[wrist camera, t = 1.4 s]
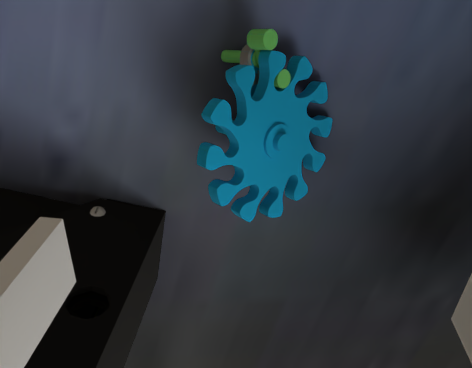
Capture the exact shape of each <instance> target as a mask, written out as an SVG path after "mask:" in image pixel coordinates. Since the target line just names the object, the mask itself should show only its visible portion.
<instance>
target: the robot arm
mask: <svg viewBox="0 0 472 368" xmlns="http://www.w3.org/2000/svg"><path fill="white" fill-rule="evenodd" d="M75 283H76V278H75V273H74V269H73V264H72V260H71V255H70V250H69V246H68V241H67V236H66V232H65V227H64V222H63V219H58V218H47V217H39V219H38V220H37V221H36V222H35V223H34V224H33V225H32V226H31V228H30V229H29V230H28V231H27V232H26V233H25V234H24V235H23V237H22V238H21V239H20V240H19V241H18V242H17V243H16V244H15V246H14V247H13V248H12V249H11V250H10V251H9V252H8V253H7V255H6V256H5V257H4V258H3V259H2V260H1V261H0V368H24V367H25V365H26V363H27V362H28V360H29V359H30V357H31V355H32V354H33V352H34V350H35V349H36V347H37V345H38V344H39V342H40V340H41V339H42V337H43V335H44V334H45V332H46V331H47V329H48V327H49V326H50V324H51V322H52V321H53V319H54V317H55V316H56V314H57V312H58V311H59V309H60V308H61V306H62V304H63V303H64V301H65V299H66V298H67V296H68V294H69V293H70V291H71V289H72V288H73V286H74V284H75ZM451 320H452V322H453V325H454V327H455V329H456V331H457V333H458V335H459V338H460V340H461V342H462V344H463V346H464V348H465V350H466V353H467V355H468V357H469V359H470V361H471V363H472V274H471V276H470V278H469V280H468V283H467V285H466V287H465V289H464V291H463V294H462V296H461V298H460V300H459V302H458V305H457V307H456V309H455V311H454V313H453V316H452V318H451Z"/></svg>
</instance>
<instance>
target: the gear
mask: <svg viewBox="0 0 472 368" xmlns="http://www.w3.org/2000/svg"><path fill="white" fill-rule="evenodd" d="M277 42H278V36H277V33H276V32H275V30H273V29H252V30H250V31H249V33H248V35H247V44H246V45H245V46H244V47H243V49H242V51H239V50H224V51H223V52H222V54H221V59H222V61H224V62H229V63H239V64H240V65H236V66H234V67H232V68H230V69H228V70H227V71H226V80H227V82H228V84H229V85H230V86H231V88H232V89H233V91H234V94H235V97H236V102H237V116H236V119H235V120H232V118H231V107H230V104H229V103H228V102H227V101H225V100H222V99H217V98H213V99H211V100H210V101H209V103H208V104H207V105H206V107H205V108H204V110H203V112H202V114H201V115H202V118H203V119H204V120H205V121H206V122H208V123H211V124H214V125H215V127H216V130H217V131H218V132H219V133H223V134H226V135H227V137H228V139H229V142H230V146H229V149H228V150H227V152H226V153H224V152H223V150H222V149H221V148H220V147H219V146H216V145H213V144H211V143H208V142H204V143H201V145H200V147H199V150H198V156H197V164H198V165H199V166H201V167H204V168H206V169H208V170H215V169H217V168H219V167H221V166H224V165H233V166H234V168H235V174H234V176H233V178H232V179H231V180H230V181H223V180H219V179H215V180H213V181H212V182H210V184H209V185H208V190H209V194H210V197H211V199H212V201H213V202H214V203H216V204H218V205H220V206H225V205H227V204H229V203H230V201H231V200H232V198H233V197H234V196H235V195H236V194H237V193H238V192H239V191H240V190H242V189H243V188H245V187H247V186H250V190H249V192H248V194H247V195H246V196H244V197H242V198H239V199H237V200H236V201H235V202H234V203H233V204H232V206H231V211H232V212H233V213H234V214H235V215H237V216H238V217H240V218H242V219H244V220H246V221H248V222H251V221H252V220H253V219H254V217H255V215H256V211H257V207H258V205H259V203H260V200H261V199H262V197H263V196H264V195H265V193H266V192H267V191H268V190H269V189H270V191H269V193H268V195H267V196H266V197H265V198H264V200H263V201H262V202H261V204H260V207H259V212H260V213H262V214H264V215H266V216H268V217H271V218H275V217H280V216H281V215H282V212H283V200H282V199H283V192H284V189H285V195H286V197H288V198H290V199H292V200H295V201H297V200H299V199H301V198H302V197H304V196H305V195H306V194H307V192H308V186H307V184H306V183H305V182H304V180H303V177H302V159H303V166H304V167H305V168H306V169H308V170H311V171H314V172H318V171H319V170H320V168H321V167H322V165H323V163H324V161H325V159H326V158H325V155H324V154H323V153H320V152H317V151H316V150H314V148H313V147H312V145H311V143H310V140H309V133H310V131H311V132H312V134H314V135H317V136H321V137H328V136H329V134H330V131H331V127H332V121H333V120H332V118H330V117H326V116H320V115H317V116H315V117H313V118H310V117H309V116H308V115H307V106H308V104H309V103H310V102H312V103H318V104H323V103H325V102H326V101H327V99H328V91H327V85H326V82H318V81H312V82H310V83H309V84H308V86H307V87H306V88H305V90H304V91H302V92H301V93H300V94H298V95H295V93H294V89H295V85H296V83H297V82H298V81H300V80H305V79H308V78H309V77H310V75H311V74H312V71H313V68H312V66H311V64H310V62H309V61H308V59H307V58H306V57H305V56H292V57H291V58H290V60H289V62H288V66H287V69H283V68H284V66H285V63H286V55H284V54H283V53H281V52H278V51H271V50H273V49H274V48H275V47H276V45H277ZM287 181H288V182H287ZM286 183H287V185H286ZM285 186H286V188H285Z"/></svg>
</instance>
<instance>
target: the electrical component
mask: <svg viewBox="0 0 472 368" xmlns="http://www.w3.org/2000/svg"><path fill="white" fill-rule="evenodd" d="M165 212H166V211H164V210H159V209H154V208H149V207H144V206H139V205H134V204H129V203H124V202H119V201H114V200H109V199H107V200H104V199H98V200H95V201H92V202H89V203H86V204H83V205H77V204H73V203H68V202H63V201H59V200H54V199H49V198H45V197H40V196H35V195H31V194H26V193H22V192H17V191H12V190H8V189H3V188H0V261H1V260H2V259H3V258H4V257H5V256H6V255H7V253H8V252H9V251H10V250H11V249H12V248H13V247H14V246H15V244H16V243H17V242H18V241H19V240H20V239H21V238H22V237H23V235H24V234H25V233H26V232H27V231H28V230H29V229H30V228H31V226H32V225H33V224H34V223H35V222H36V221H37V220H38V219H39V217H47V218H58V219H63V222H64V227H65V232H66V236H67V241H68V246H69V250H70V255H71V260H72V264H73V269H74V273H75V278H76V283H75V284H74V286H73V288H72V289H71V291H70V293H69V294H68V296H67V298H66V299H65V301H64V303H63V304H62V306H61V308H60V309H59V311H58V312H57V314H56V316H55V317H54V319H53V321H52V322H51V324H50V326H49V327H48V329H47V331H46V332H45V334H44V335H43V337H42V339H41V340H40V342H39V344H38V345H37V347H36V349H35V350H34V352H33V354H32V355H31V357H30V359H29V360H28V362H27V363H26V365H25V367H24V368H124V365H125V362H126V360H127V357H128V354H129V352H130V349H131V346H132V344H133V341H134V339H135V336H136V333H137V331H138V328H139V325H140V323H141V320H142V317H143V315H144V312H145V310H146V307H147V304H148V302H149V299H150V296H151V294H152V291H153V288H154V286H155V283H156V281H157V277H158V269H159V261H160V253H161V245H162V237H163V229H164V221H165Z"/></svg>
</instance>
